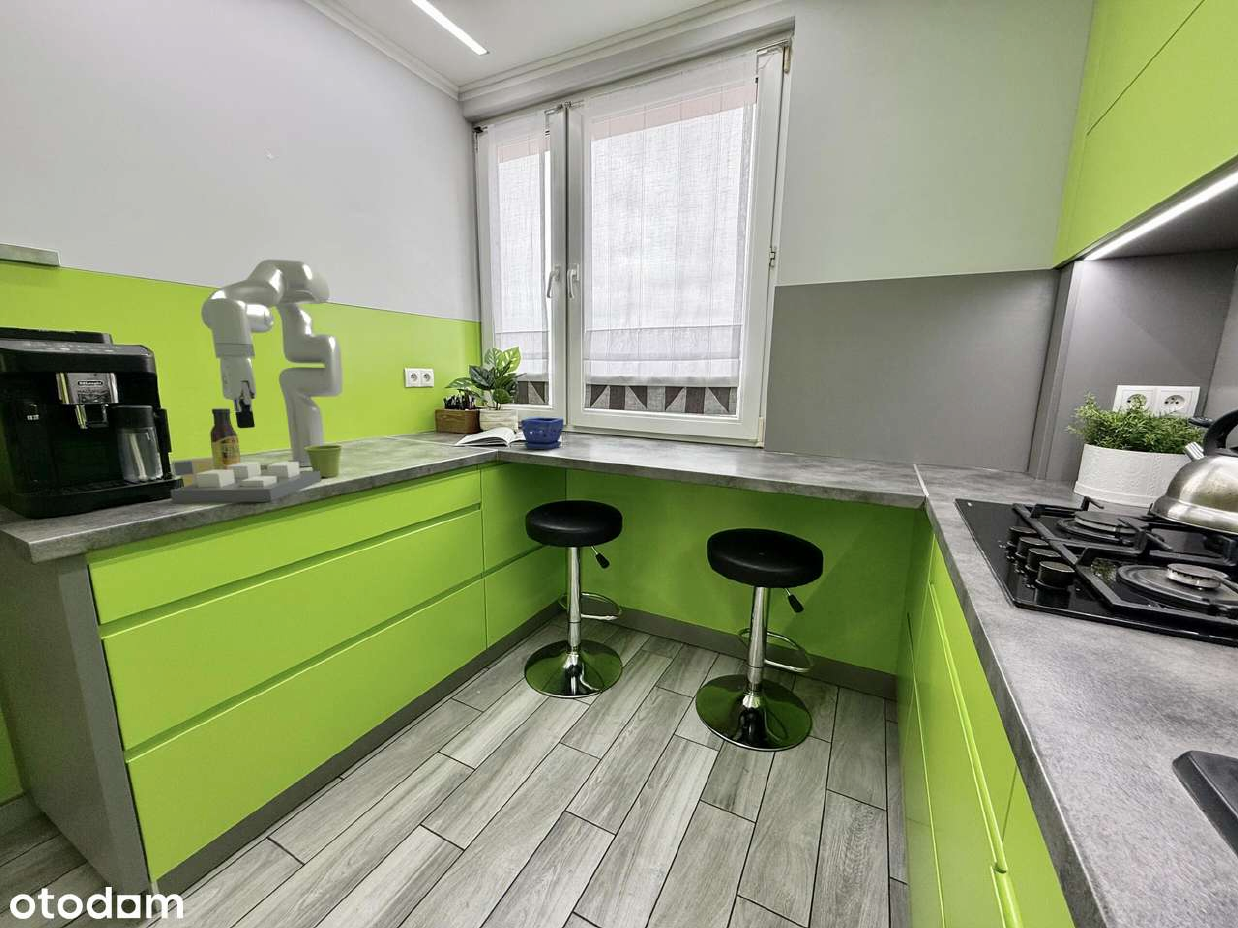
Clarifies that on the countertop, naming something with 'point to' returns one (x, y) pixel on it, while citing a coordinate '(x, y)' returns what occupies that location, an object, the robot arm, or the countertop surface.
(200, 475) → the button
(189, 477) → the card
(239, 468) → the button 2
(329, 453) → the plant pot
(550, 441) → the flower pot
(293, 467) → the button
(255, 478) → the button
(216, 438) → the sauce bottle
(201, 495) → the button board
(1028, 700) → the countertop surface
